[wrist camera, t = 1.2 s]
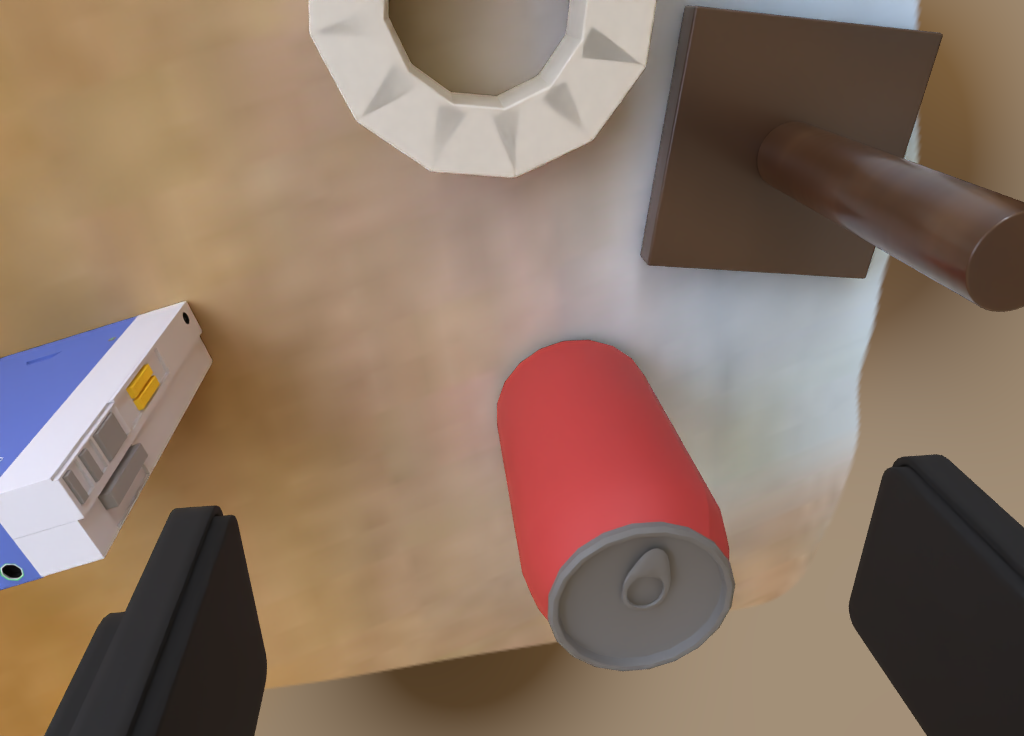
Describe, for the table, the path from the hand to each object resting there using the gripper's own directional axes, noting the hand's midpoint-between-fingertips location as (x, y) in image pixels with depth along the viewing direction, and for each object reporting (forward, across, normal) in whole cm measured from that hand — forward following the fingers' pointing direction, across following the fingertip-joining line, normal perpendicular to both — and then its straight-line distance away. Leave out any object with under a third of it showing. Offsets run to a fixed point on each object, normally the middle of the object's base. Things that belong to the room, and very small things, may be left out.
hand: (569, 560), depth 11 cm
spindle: (+20, -11, -2) cm, 23 cm away
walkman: (+20, +14, +6) cm, 25 cm away
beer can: (+20, -4, +9) cm, 22 cm away
